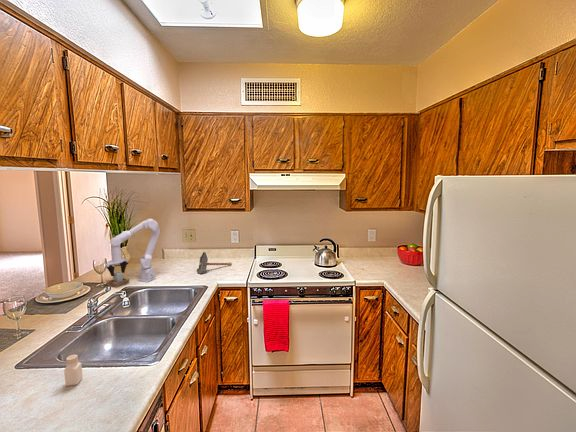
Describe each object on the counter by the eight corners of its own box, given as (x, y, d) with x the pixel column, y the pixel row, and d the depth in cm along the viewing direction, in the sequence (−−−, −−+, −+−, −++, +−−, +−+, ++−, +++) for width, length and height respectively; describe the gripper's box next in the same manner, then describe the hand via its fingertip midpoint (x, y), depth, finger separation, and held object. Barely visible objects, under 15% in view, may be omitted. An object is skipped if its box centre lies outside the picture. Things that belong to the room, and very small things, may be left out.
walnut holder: (129, 283, 202) (129, 279, 202) (116, 287, 194) (116, 283, 193) (120, 281, 206) (120, 277, 206) (107, 285, 197) (107, 281, 197)
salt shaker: (64, 386, 100) (62, 361, 99) (71, 379, 104) (68, 354, 103) (77, 385, 101) (75, 359, 100) (83, 377, 105) (81, 353, 104)
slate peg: (123, 283, 201) (122, 272, 200) (117, 285, 197) (117, 274, 196) (119, 283, 202) (118, 272, 201) (113, 285, 199) (112, 273, 198)
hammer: (234, 253, 243) (203, 252, 221) (231, 272, 243) (200, 273, 220) (230, 252, 247) (199, 251, 224) (227, 271, 246) (196, 272, 224)
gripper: (122, 252, 205) (123, 270, 207) (102, 256, 192) (103, 276, 194) (129, 253, 203) (130, 271, 204) (108, 258, 189) (110, 278, 191)
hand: (117, 274), depth 199 cm, fingers open, 7 cm apart
